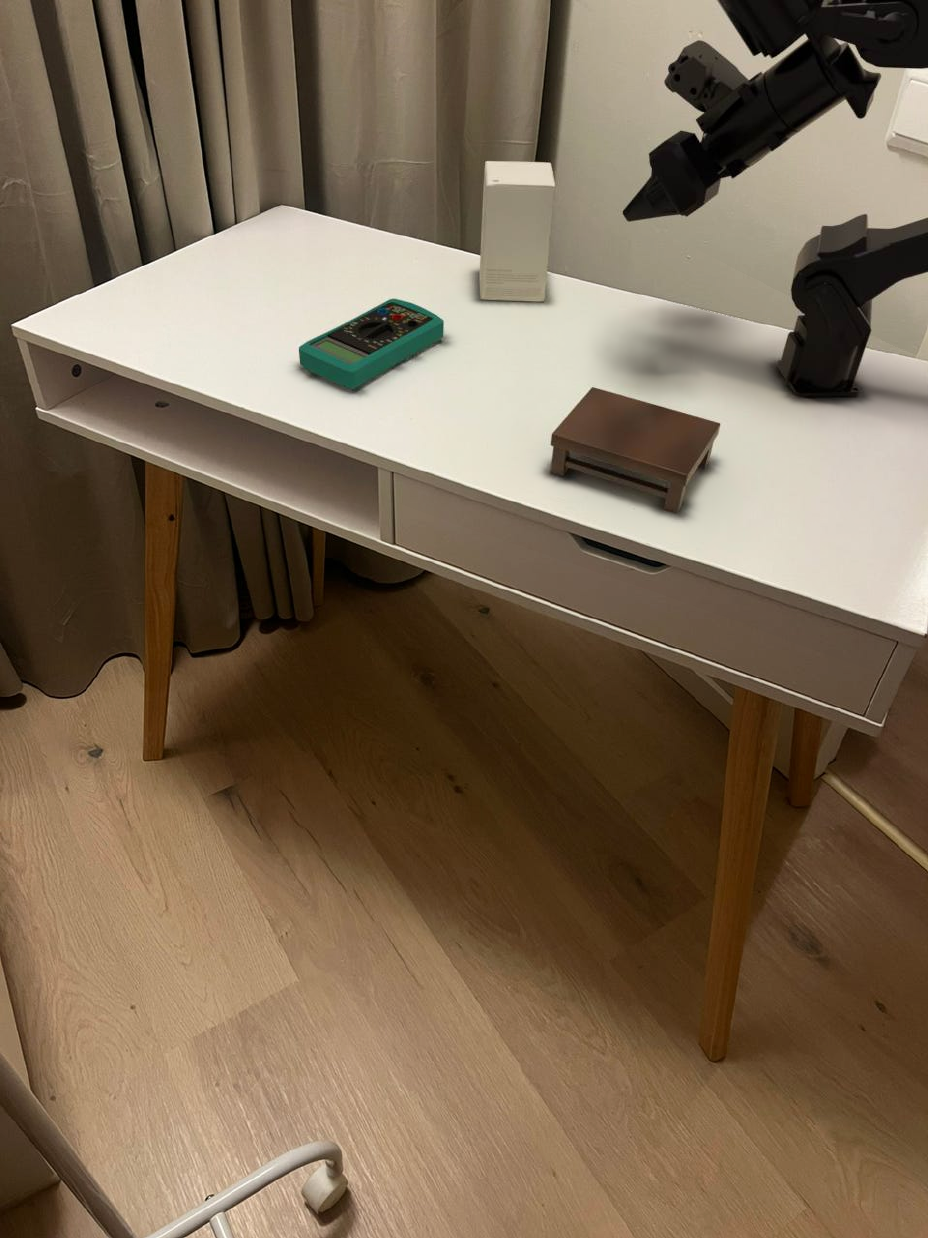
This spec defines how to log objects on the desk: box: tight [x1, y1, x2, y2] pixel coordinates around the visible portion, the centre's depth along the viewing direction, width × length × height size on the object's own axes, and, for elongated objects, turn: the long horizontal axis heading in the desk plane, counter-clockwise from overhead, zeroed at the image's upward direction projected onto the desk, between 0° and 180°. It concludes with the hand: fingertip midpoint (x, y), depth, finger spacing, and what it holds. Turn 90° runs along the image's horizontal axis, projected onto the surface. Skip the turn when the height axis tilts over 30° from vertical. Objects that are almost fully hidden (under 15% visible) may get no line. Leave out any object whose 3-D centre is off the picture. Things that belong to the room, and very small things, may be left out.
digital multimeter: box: [298, 298, 445, 390], centre depth 100 cm, size 7×15×3 cm, turn 142°
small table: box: [550, 386, 721, 513], centre depth 86 cm, size 12×9×4 cm
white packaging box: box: [478, 160, 556, 303], centre depth 108 cm, size 7×7×13 cm
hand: (645, 201), depth 96 cm, fingers open, 9 cm apart
